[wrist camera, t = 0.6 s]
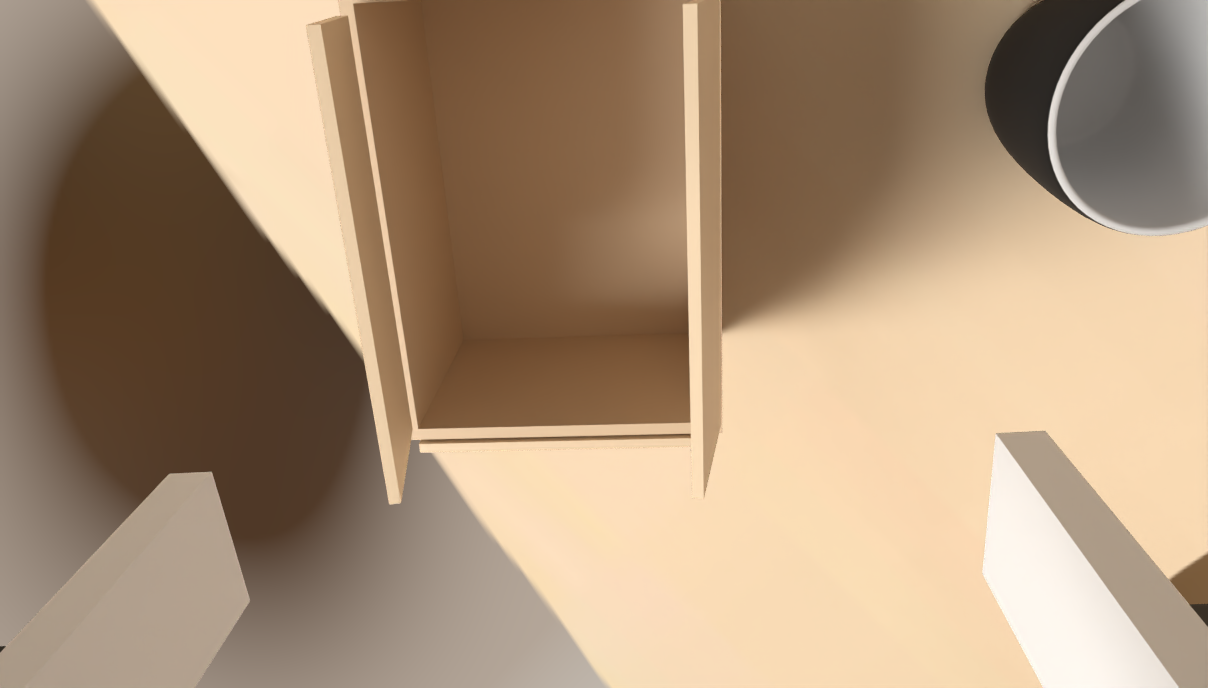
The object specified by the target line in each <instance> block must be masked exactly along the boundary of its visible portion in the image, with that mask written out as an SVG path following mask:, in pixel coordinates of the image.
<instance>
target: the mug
mask: <svg viewBox="0 0 1208 688" xmlns="http://www.w3.org/2000/svg"><path fill="white" fill-rule="evenodd" d="M985 101H986V108H987V113H988V116H989V119H990V122H991V124H992V126H993V129H994V131H995V133H996V134H997V136H998V138H999V140H1000V141H1001V143H1002V144H1003V146H1004V147H1005V148H1006V150H1007V151H1008V152H1009V154H1010V155H1011V156H1012V157H1013V158H1014V159H1015V161H1016V162H1017V163H1018V164H1019V165H1020V166H1021V167H1022V168H1023V169H1024V170H1025V171H1026V172H1027V173H1028V174H1029V175H1030V176H1031V177H1032V178H1033V179H1035V180H1036V181H1037V182H1038V183H1039V184H1040V185H1041V186H1043V187H1044V188H1045V189H1046V190H1047V191H1049V192H1050V193H1051V194H1052V195H1054V196H1055V197H1056V198H1058V199H1059V200H1060V201H1062V202H1063V203H1064V204H1066V205H1067V206H1069V207H1070V208H1072V209H1073V210H1075V211H1076V212H1078V213H1079V214H1081V215H1083V216H1084V217H1086V218H1088V219H1090V220H1092V221H1094V222H1096V223H1098V224H1100V225H1102V226H1105V227H1107V228H1110V229H1113V230H1116V231H1120V232H1124V233H1129V234H1135V235H1146V236H1162V235H1172V234H1179V233H1183V232H1188V231H1192V230H1195V229H1199V228H1202V227H1205V226H1207V225H1208V0H1044V1H1042V2H1040V3H1039V4H1037V5H1036V6H1034V7H1033V8H1031V9H1030V10H1028V11H1027V12H1026V13H1025V14H1024V15H1022V16H1021V17H1020V18H1019V19H1018V20H1017V21H1016V22H1015V23H1014V24H1013V25H1012V26H1011V27H1010V29H1009V30H1008V31H1007V32H1006V34H1005V35H1004V36H1003V38H1002V39H1001V41H1000V42H999V44H998V46H997V48H996V50H995V52H994V54H993V56H992V58H991V61H990V64H989V67H988V71H987V76H986V82H985Z"/></svg>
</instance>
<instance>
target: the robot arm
mask: <svg viewBox="0 0 1208 688" xmlns="http://www.w3.org/2000/svg"><path fill="white" fill-rule="evenodd" d="M983 576H984V578H985V579H986V581H987V583H988V585H989V587H990V589H991V591H992V593H993V594H994V596H995V598H996V600H997V602H998V604H999V606H1000V608H1001V609H1002V611H1003V613H1004V615H1005V617H1006V619H1007V621H1008V623H1009V624H1010V626H1011V628H1012V630H1013V632H1014V634H1015V636H1016V637H1017V639H1018V641H1019V643H1020V645H1021V647H1022V649H1023V651H1024V652H1025V654H1026V656H1027V658H1028V660H1029V662H1030V664H1031V666H1032V667H1033V669H1034V671H1035V673H1036V675H1037V677H1038V679H1039V681H1040V682H1041V684H1042V686H1043V688H1208V604H1192V605H1189V604H1188V603H1187V601H1186V600H1185V599H1184V598H1183V597H1182V595H1181V594H1180V593H1179V592H1178V590H1177V589H1176V588H1175V587H1174V586H1173V584H1172V583H1171V582H1170V581H1169V579H1168V578H1167V577H1166V576H1165V575H1164V573H1163V572H1162V571H1161V570H1160V569H1159V567H1158V566H1157V565H1156V564H1155V563H1154V561H1153V560H1152V559H1151V558H1150V557H1149V555H1148V554H1147V553H1146V552H1145V551H1144V549H1143V548H1142V547H1141V546H1140V545H1139V543H1138V542H1137V541H1136V540H1135V538H1134V537H1133V536H1132V535H1131V534H1130V532H1129V531H1128V530H1127V529H1126V528H1125V526H1124V525H1123V524H1122V523H1121V522H1120V520H1119V519H1118V518H1117V517H1116V516H1115V514H1114V513H1113V512H1112V511H1111V510H1110V508H1109V507H1108V506H1107V505H1106V503H1105V502H1104V501H1103V500H1102V499H1101V497H1100V496H1099V495H1098V494H1097V493H1096V491H1095V490H1094V489H1093V488H1092V487H1091V485H1090V484H1089V483H1088V482H1087V481H1086V479H1085V478H1084V477H1083V476H1082V475H1081V473H1080V472H1079V471H1078V470H1077V469H1076V467H1075V466H1074V465H1073V464H1072V462H1071V461H1070V460H1069V459H1068V458H1067V456H1066V455H1065V454H1064V453H1063V452H1062V450H1061V449H1060V448H1059V447H1058V446H1057V444H1056V443H1055V442H1054V441H1053V440H1052V438H1051V437H1050V436H1049V435H1048V434H1047V432H1046V431H1032V432H1012V433H996V437H995V448H994V458H993V469H992V479H991V490H990V500H989V511H988V521H987V532H986V542H985V553H984V563H983ZM249 601H250V599H249V595H248V592H247V589H246V586H245V582H244V579H243V576H242V572H241V569H240V565H239V562H238V558H237V555H236V552H235V549H234V545H233V542H232V538H231V535H230V532H229V528H228V525H227V522H226V518H225V515H224V511H223V508H222V505H221V502H220V498H219V495H218V491H217V488H216V485H215V481H214V478H213V475H212V472H198V473H178V474H169V475H168V476H167V477H166V478H165V479H164V480H163V481H162V482H161V483H160V484H159V485H158V487H156V489H155V490H154V491H153V492H152V493H151V494H150V495H149V496H148V497H147V498H146V499H145V500H144V501H143V502H142V503H141V504H140V506H139V507H138V508H137V509H136V510H135V511H134V512H133V513H132V514H131V515H130V516H129V517H128V518H127V519H126V520H125V521H124V522H123V523H122V524H121V526H120V527H119V528H118V529H117V530H116V531H115V532H114V533H113V534H112V535H111V536H110V537H109V538H108V539H107V540H106V541H105V542H104V543H103V545H102V546H101V547H100V548H99V549H98V550H97V551H96V552H95V553H94V554H93V555H92V556H91V557H90V558H89V559H88V560H87V561H86V563H85V564H84V565H83V566H82V567H81V568H80V569H79V570H78V571H77V572H76V573H75V574H74V575H73V576H72V577H71V578H70V580H69V581H68V582H67V583H66V584H65V585H64V586H63V587H62V588H61V589H60V590H59V591H58V592H57V593H56V594H55V595H54V597H52V598H51V599H50V601H49V602H48V603H47V604H46V605H45V606H44V607H43V608H42V609H41V610H40V611H39V612H38V613H37V614H36V615H35V616H34V617H33V619H32V620H31V621H30V622H29V623H28V624H27V625H26V626H25V627H24V628H23V629H22V630H21V631H20V632H19V633H18V634H17V635H16V636H15V637H14V639H13V640H12V641H11V642H10V643H9V644H8V645H7V646H2V647H1V646H0V688H195V687H196V685H197V684H198V682H199V680H200V679H201V677H202V676H203V674H204V673H205V671H206V669H207V668H208V666H209V665H210V663H211V661H212V660H213V658H214V657H215V655H216V653H217V652H218V650H219V649H220V647H221V646H222V644H223V643H224V641H225V639H226V638H227V636H228V635H229V633H230V631H231V630H232V628H233V627H234V625H235V624H236V622H237V620H238V619H239V617H240V616H241V614H242V612H243V611H244V609H245V608H246V606H247V605H248V603H249Z"/></svg>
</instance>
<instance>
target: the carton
mask: <svg viewBox="0 0 1208 688" xmlns="http://www.w3.org/2000/svg"><path fill="white" fill-rule="evenodd" d="M690 1H693V0H338V3H339V10H340V16H348V19H349V25H350V32H351V38H352V44H353V51H354V57H355V64H356V70H357V76H358V83H359V89H360V96H361V102H362V108H363V115H364V121H365V127H366V134H367V140H368V147H369V153H370V159H371V166H372V172H373V179H374V185H375V191H376V198H377V204H378V211H379V217H380V223H381V230H382V236H383V243H384V249H385V255H386V262H387V268H388V275H389V281H390V287H391V294H392V300H393V307H394V313H395V319H396V326H397V332H398V339H399V345H400V351H401V358H402V364H403V370H404V377H405V383H406V390H407V396H408V402H409V409H410V415H411V422H412V428H413V431H412V437H411V440H421V441H420V443H419V447H420V452H421V453H423V452H424V453H425V452H472V451H519V450H566V449H612V448H659V447H691V418H690V366H689V313H688V260H687V208H686V155H685V102H684V50H683V4H685V3H687V2H690ZM720 238H721V426H720V430H719V433H722V212H721V0H720Z"/></svg>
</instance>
